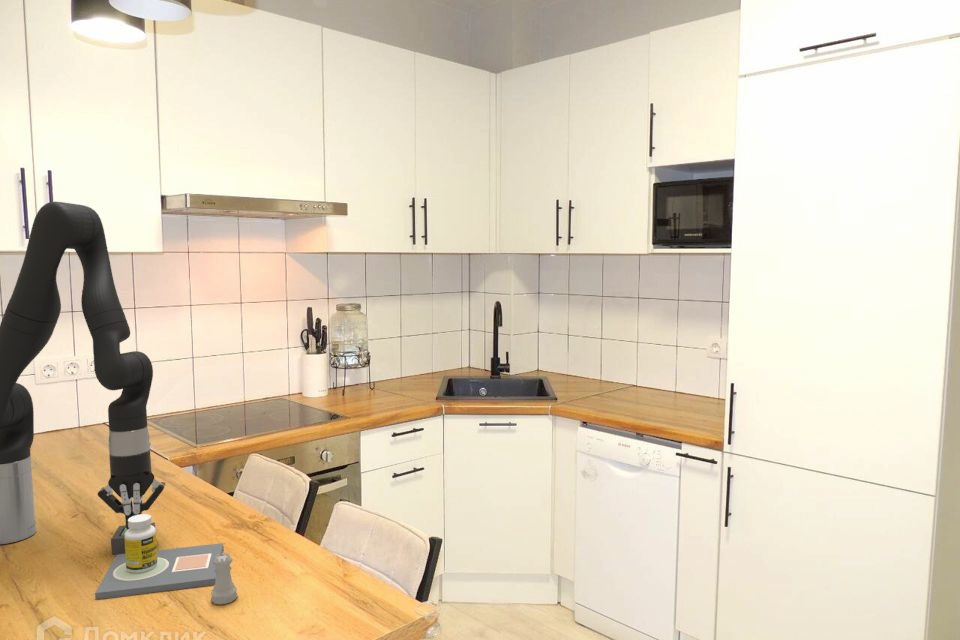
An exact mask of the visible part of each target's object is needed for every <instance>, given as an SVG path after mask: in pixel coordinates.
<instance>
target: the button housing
mask: <svg viewBox="0 0 960 640" xmlns="http://www.w3.org/2000/svg"><path fill="white" fill-rule="evenodd" d="M151 525H152V526H154V527H155V528H156V522H154V521H152V522H151ZM125 528H126V524H125V525H119V526H118V527H117V528H116V530H115V532H114V533H113V535H112V537H111V538H110V548H111V556H112V557H113V556H115V557H116V555H118V554H125V536H121V534H122V532H123V531H124V529H125Z"/></svg>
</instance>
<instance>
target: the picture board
mask: <svg viewBox="0 0 960 640" xmlns="http://www.w3.org/2000/svg"><path fill="white" fill-rule="evenodd" d="M224 548H225V547H224V543H223V542H219V543H212V544H209V543H208V544H202V545H201V544H200V545H191V546H184V547H182V546H181V547H174V548H165V549H157V565H156V566H155V567H154V568H153V569H151V570H149V571H146V572H141V573H131V572H128V571H127V569H126V557H125V554H118V555H115V557H114V558H113V560H112V562H111V564H110V566H109V567H108V569H107V571H106V572H105V573H106V574H104V577H103V578H102V580H101V582H100V583H99V585H98V587H97V589H96V590H95V593H94V598H95V600H96V601H97V600H102V599H112V598H119V597H128V596H134V595H143V594H144V593H145V594H152V593H159V592H161V593H162V592H168V591H169V592H170V591H176V590H184V589H192V588H201V587H208V586H215V581H216V572H215V569H216V566H215V565H214V564H213V561H214V560H215V556H217V555H218V554H220V556H222V553H224Z"/></svg>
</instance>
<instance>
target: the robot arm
mask: <svg viewBox="0 0 960 640" xmlns="http://www.w3.org/2000/svg"><path fill="white" fill-rule="evenodd" d="M33 219H34V220H33V223H32V227H31V230H30V234H29V238H28V243H27V245H26V246H27V247H26V251H25V255H24V259H23V262H22V265H21V268H20V271H19V273H18V277H17V280H16V282H15V286H14V288H13V290H12V294H11V297H10V299H9V301H8V302H7V304H6V307H5V308H6V309H5V310H4V312H3V315H2V316H3V317H2V319H1V321H0V545H5V544H6V545H7V544H11V543H16V542H19V541H22V540H26V539H28V538H30V537H31V536H33V535H34V534H35V533H36V530H37V529H36V528H37V527H36V524H37V523H36V515H35V514H36V511H35V510H36V509H35V498H34V486H33V485H34V484H33V471H32V470H33V469H32V457H31V448H32V445H33V443H34V438H35V436H34V435H35V434H34V430H35V429H34V428H35V427H34V426H35V425H34V423H35V422H34V421H35V420H34V419H35V418H34V403H33V398H32V396H31V393H30V392H29V390H28V389H27V388H26V387H25V386H24V385H22V384H21V383H18V379H19V378H20V376H21V375H22V374H23V372H24V371H25V369H26V368H27V367H28V366H29V365H30V364H31V363H32V362H33V361H34V359H35V358H36V357H37V356H38V355H39V354H40V353H41V352H42V351H43V349H44V348H45V347H46V346H47V344H48V342H49V341H50V339H51V338H52V336H53V333H54V330H55V328H56V325H57V323H58V321H59V318H60V314H61V311H62V310H61V309H62V304H61V303H62V301H61V296H60V293H59V292H60V291H59V289H58V283H57V282H58V281H57V274H58V269H59V266H60V263H61V261H62V258H63V256H64V254H65V252H66V250H68V249H69V250H74V251H75V253H76V254H77V257H78V259H79V260H80V264H81V266H82V272H83V283H82V290H81V302H80V303H81V310H82V313H83V317H84V320H85V323H86V325H87V328H88V331H89V333H90V336H91V338H92V350H93V351H92V352H93V365H94V366H93V367H94V373H95V374H94V375H95V376H96V379H97V381H98V383H100V385H102V387H103V388H104V389H106V390H109V391H118V390H122V391H121V394H120V396H118V397H117V398H116V399H115V400H113V401H112V402H110V403H109V404H108V407H107V414H108V454H109V471H110V477H109V479H108V482H107V485H105V486H104V487H102V488H100V490H99V491H98V492H97V496H98V497H99V499H101V500H102V501H103V502H104V503H105V504H106V505H107V506H108V507H109V508H110V509H111V510H112V511H113V512H114V513H116V514H119V513H120V514H123V515H124V518H125V525H126V528H127V530H128V529H129V527H128V519H129V518H130V517H132V516H135V515H140V514H143V513H142V512H144V511H146V512H147V511H148V510H149V509H150V508H151V507H152V505H153V504H154V502H155V501H156V500H157V499H158V498H159V496H160V495H161V494H162V492H163V491H164V489H165V487H166V483H165V482H163V481H162V482H160V481H158V480H157V479H156V478H155V475H154V474H153V472H152V462H151V461H152V460H151V440H150V433H149V428H148V427H149V426H148V415H147V413H148V411H147V405H148V402H149V401H148V400H149V397H150V392H151V388H152V383H153V379H154V367H153V364H152V362H151V359H150V358H149V356H148V355H147V354H145V353H144V352H142V351H139V350H133V351H127V352H123V353H121V345H120V344H121V343H123V342H124V341H126V340H127V339H129V338H130V336H131V329H130V326H129V323H128V320H127V318H126V315H125V312H124V309H123V307H122V304H121V301H120V298H119V296H118V292H117V289H116V285H115V282H114V280H115V279H114V277H113V271H112V266H111V261H110V255H109V251H108V244H107V239H106V234H105V231H104V230H105V228H104V226H103V223H102V219H101V217H100V215H99V213H97V211H95V210H94V208H91V207H90V206H87V205H83V204H77V203H71V202H63V201H49V202H47V203H45V204H43V205H42V206H41V207H40V208H39V210H37V213H36V215H35V217H34V218H33ZM150 487H151V492H152V493H151V494H150V496H149V497H148V498H147V499H146V501H145V502H143V500H144V495H145V494H146V492H147V491H148V490H149V488H150ZM114 492H115V494H116V495H117V496H118V497H120V498H121V501H120V500H119V499H118V498H117V497H116V496H115V495H114V494H113V493H114Z"/></svg>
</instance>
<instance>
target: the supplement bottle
mask: <svg viewBox="0 0 960 640" xmlns="http://www.w3.org/2000/svg"><path fill="white" fill-rule="evenodd" d="M151 523H153V521H152V515H150V514H149V513H142V514H140V515H135V516H132V517H130V518H129V519H128V527H129V529H128V530H127V531H126V532H125V557H126V569H127V571H128V572H131V573H141V572H146V571H149V570H151V569H153V568H154V567H155V566H156V565H157V550H158V546H157V544H158V543H157V529H156V526H155V527H154V526H152V525H151Z"/></svg>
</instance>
